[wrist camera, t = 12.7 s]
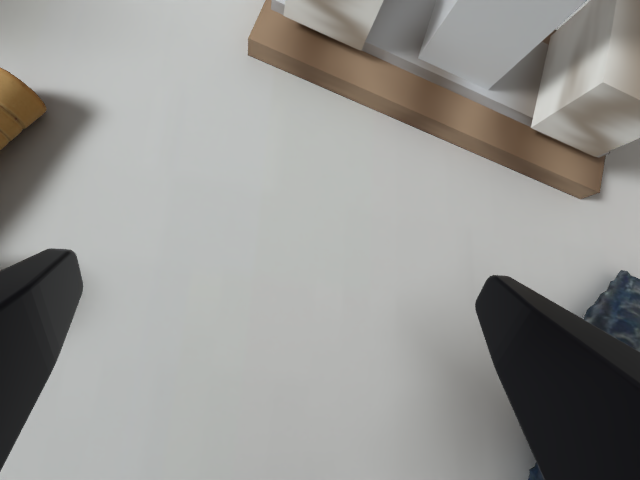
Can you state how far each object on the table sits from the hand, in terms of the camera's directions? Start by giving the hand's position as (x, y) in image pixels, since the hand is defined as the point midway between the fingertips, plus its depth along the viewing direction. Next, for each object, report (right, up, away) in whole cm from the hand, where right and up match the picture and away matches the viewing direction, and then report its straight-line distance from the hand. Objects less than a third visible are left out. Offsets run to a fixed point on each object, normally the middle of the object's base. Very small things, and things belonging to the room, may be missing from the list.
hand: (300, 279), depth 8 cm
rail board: (+9, +13, +18) cm, 24 cm away
